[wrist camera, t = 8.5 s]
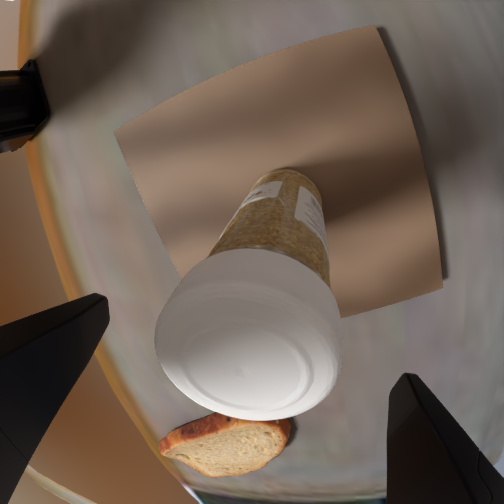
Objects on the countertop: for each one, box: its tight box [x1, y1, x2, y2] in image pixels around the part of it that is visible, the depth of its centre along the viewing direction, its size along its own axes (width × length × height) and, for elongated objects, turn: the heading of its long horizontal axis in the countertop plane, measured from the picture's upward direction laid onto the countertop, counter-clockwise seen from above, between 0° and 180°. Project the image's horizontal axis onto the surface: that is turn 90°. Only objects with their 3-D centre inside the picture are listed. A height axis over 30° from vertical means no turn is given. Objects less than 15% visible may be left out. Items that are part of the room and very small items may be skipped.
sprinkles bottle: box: [154, 169, 343, 421], centre depth 13 cm, size 5×5×13 cm
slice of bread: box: [159, 412, 291, 477], centre depth 32 cm, size 18×18×4 cm
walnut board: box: [114, 25, 443, 318], centre depth 19 cm, size 18×18×1 cm
